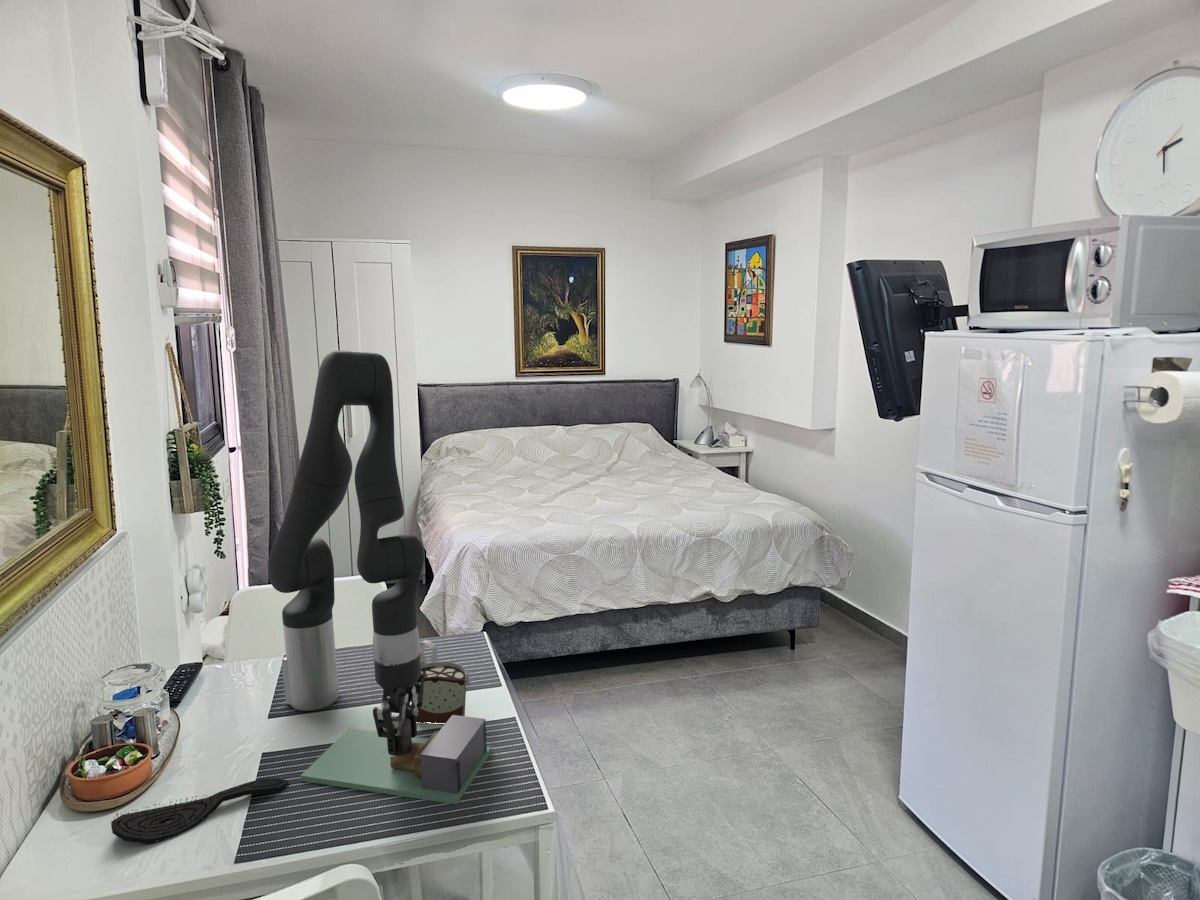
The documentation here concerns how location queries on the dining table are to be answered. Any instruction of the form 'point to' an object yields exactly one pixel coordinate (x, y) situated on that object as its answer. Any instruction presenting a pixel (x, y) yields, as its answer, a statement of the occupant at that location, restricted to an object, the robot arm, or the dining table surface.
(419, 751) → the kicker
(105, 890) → the dining table surface
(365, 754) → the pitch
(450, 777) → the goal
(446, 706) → the food container
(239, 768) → the dining table surface
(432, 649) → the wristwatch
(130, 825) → the hairbrush
